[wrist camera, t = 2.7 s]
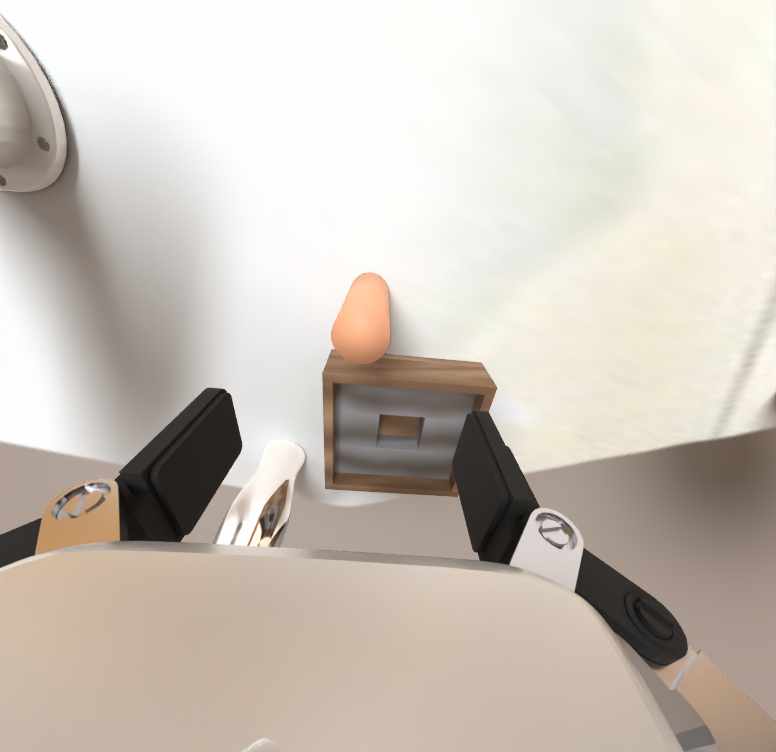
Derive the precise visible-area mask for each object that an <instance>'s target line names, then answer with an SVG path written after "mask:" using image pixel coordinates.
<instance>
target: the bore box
mask: <svg viewBox="0 0 776 752" xmlns="http://www.w3.org/2000/svg"><path fill="white" fill-rule="evenodd" d="M322 375H323V416H324V457H325V489H335V490H352V491H369V492H386V493H402V494H419V495H437V496H453V497H457V496H458V494H459V492H458V488H457V484H456V480H455V476H454V472H453V468H452V461H453V457H454V454H455V451H456V448H457V444H458V441H459V438H460V435H461V432H462V429H463V425H464V422H465V419H466V416H467V414H468V413H471V412H472V411H473V410H478V411H487V412H489V409H490V406H491V404H492V401H493V398H494V396H495V393H496V390H497V387H496V385H495V383H494V382H493V380H492V379H491V377H490V375H489V374H488V372H487V371H486V369H485V367H484V366H483V364H482V363H479V362H468V361H456V360H445V359H434V358H422V357H411V356H400V355H388V354H384V355H383V356H382V357H381V358H380V359H378V360H377V361H375V362H372V363H368V364H356V363H352V362H350V361H347V360H346V359H344V358H343V357H341V356H340V355H339V354H338V352H337V351H336V350H331V353H330V355H329V358H328V360H327V363H326V366H325V368H324V371H323V373H322Z"/></svg>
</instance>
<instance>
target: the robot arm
mask: <svg viewBox="0 0 776 752" xmlns="http://www.w3.org/2000/svg"><path fill="white" fill-rule="evenodd" d="M66 150H67V140H66V133H65V126H64V122H63V118H62V115H61V112H60V108H59V105H58V102H57V100H56V98H55V96H54V93H53V91H52V89H51V87H50V84H49V82H48V80H47V79H46V77H45V75H44V73H43V72H42V70H41V68H40V67H39V65H38V63H37V61H36V60H35V58H34V57H33V55H32V54H31V53H30V51H29V50H28V48H27V47H26V46H25V44H24V43H23V42H22V40H21V39H20V37H19V36H18V35H17V34H16V33H15V31H14V30H13V29H12V28H11V27H10V26H9V25H8V24H7V22H6V21H5V20H4V19H3V18H2V17H1V16H0V190H3V191H15V192H31V191H38V190H41V189H44V188H47V187H48V186H49V185H51V184H52V183H53V182H55V181H56V179H57V178H58V176H59V175H60V173H61V172H62V170H63V167H64V163H65V160H66ZM241 450H242V441H241V436H240V432H239V428H238V423H237V419H236V415H235V410H234V406H233V402H232V397H231V395H230V393H227V391H226V390H225V389H219V388H206V389H205V390H204V391H203V392H202V393H201V394H200V395H199V396H198V397H197V398H196V399H195V400H194V401H192V402H191V403H190V404H189V405H188V406H187V407H186V408H185V409H184V410H183V411H182V412H181V413H180V414H179V415H178V416H177V417H176V418H175V419H174V420H173V421H172V422H171V423H170V424H169V425H167V426H166V427H165V428H164V429H163V430H162V431H161V432H160V433H159V434H158V435H157V436H156V437H155V438H154V439H153V440H152V441H151V442H150V443H149V444H148V445H147V446H146V447H145V448H144V449H142V450H141V451H140V452H139V453H138V454H137V455H136V456H135V457H134V458H133V459H132V460H131V461H130V462H129V463H128V464H127V465H126V466H125V467H124V468H123V469H122V470H121V471H120V472H119V473H120V475H119V476H118V477H117V478H116V479H115V480H112V479H109V478H97V479H92V480H88V481H84V482H82V483H79V484H77V485H75V486H72V487H71V488H69V489H67V490H65V491H64V492H62V493H61V494H59V495H58V496H57V497H56V498H54V499H53V500H52V501H51V502H50V503H49V504H48V506H47V507H46V508H45V510H44V513H43V515H42V518H40V519H38V520H35V521H33V522H30V523H28V524H26V525H23V526H21V527H18V528H16V529H13V530H11V531H9V532H6V533H4V534H1V535H0V752H776V722H775V720H773V719H772V718H771V717H770V716H769V715H768V714H767V713H766V712H765V711H764V710H763V709H762V708H761V707H760V706H759V705H758V704H757V703H755V701H754V700H752V699H751V698H750V697H749V696H748V695H747V694H746V693H745V692H744V691H743V690H742V689H741V688H740V687H739V686H738V685H737V684H736V683H735V682H733V681H732V680H731V679H730V678H729V677H728V676H727V675H726V674H725V673H724V672H723V671H722V670H721V669H720V668H719V667H718V666H717V665H716V664H714V663H713V661H711V660H710V659H709V658H708V657H707V656H706V655H705V654H704V653H703V652H702V651H699V652H697V653H696V652H695V651H694V650H693V649H692V648H691V647H690V646H689V645H688V644H687V639H686V636H685V634H684V632H683V630H682V628H681V626H680V625H679V623H678V622H677V620H676V619H675V618H674V616H673V615H672V614H671V613H670V612H669V611H668V610H667V609H666V608H665V607H664V605H662V604H661V603H660V602H659V601H657V600H656V599H655V598H654V597H652V596H651V595H650V594H648V593H647V592H645V591H644V590H643V589H641V588H640V587H638V586H637V585H636V584H634V583H633V582H631V581H630V580H628V579H627V578H626V577H624V576H623V575H621V574H620V573H618V572H617V571H616V570H614V569H613V568H611V567H610V566H609V565H607V564H605V563H604V562H603V561H602V560H600V559H599V558H597V557H596V556H594V555H593V554H591V553H590V552H589V551H587V550H586V549H585V548H583V539H582V536H581V534H580V532H579V531H578V529H577V528H576V526H575V525H574V524H573V523H572V522H571V521H570V520H569V519H568V518H566V517H565V516H563V515H562V514H560V513H559V512H557V511H554V510H552V509H548V508H540V506H539V504H538V503H537V500H536V498H535V497H534V495H533V493H532V491H531V489H530V487H529V485H528V483H527V481H526V479H525V477H524V475H523V473H522V471H521V469H520V467H519V465H518V463H517V461H516V459H515V457H514V455H513V453H512V452H511V450H510V448H509V447H508V446H505V444H504V442H503V440H502V438H501V436H500V434H499V432H498V430H497V428H496V426H495V424H494V422H493V420H492V418H491V416H490V414H489V412H487V411H478V410H473V411H472V412H471V413H468V414H467V416H466V419H465V422H464V425H463V429H462V432H461V435H460V438H459V441H458V444H457V448H456V451H455V454H454V457H453V461H452V468H453V472H454V476H455V480H456V484H457V488H458V492H459V496H460V500H461V505H462V509H463V513H464V516H465V521H466V525H467V529H468V532H469V537H470V541H471V545H472V548H473V551H474V552H478V555H479V559H480V561H477V560H465V559H453V558H441V557H427V556H411V555H395V554H380V553H365V552H348V551H331V550H314V549H297V548H280V547H262V546H243V545H224V544H204V543H184V542H181V540H182V538H183V537H184V536H185V535H188V534H189V533H190V532H191V531H192V530H193V528H194V527H195V525H196V523H197V522H198V520H199V518H200V517H201V515H202V514H203V512H204V510H205V509H206V507H207V506H208V504H209V502H210V501H211V499H212V498H213V496H214V494H215V493H216V491H217V489H218V488H219V486H220V485H221V483H222V481H223V480H224V478H225V477H226V475H227V473H228V472H229V470H230V469H231V467H232V465H233V464H234V462H235V461H236V459H237V457H238V456H239V454H240V452H241Z"/></svg>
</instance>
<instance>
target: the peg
mask: <svg viewBox="0 0 776 752" xmlns="http://www.w3.org/2000/svg"><path fill="white" fill-rule="evenodd" d="M331 339H332V343H333V346H334V348H335V350H336V351H337V352H338V354H339V355H340V356H341V357H343V358H344V359H346V360H347V361H350V362H352V363H356V364H368V363H372V362H375V361H377V360H378V359H380V358H381V357H382V356H383V355H384V354H385V353H386V351H387V350H388V348H389V345H390V310H389V289H388V285H387V283H386V282H385V280H384V279H383V278H382V277H381V276H379V275H377V274H374V273H364V274H361V275H359V276H358V277H357V278H356V279H355V280H354V282H353V283H352V286H351V288H350V290H349V292H348V294H347V296H346V299H345V301H344V303H343V305H342V307H341V310H340V312H339V314H338V316H337V318H336V320H335V323H334V325H333V327H332V331H331Z"/></svg>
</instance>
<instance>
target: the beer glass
mask: <svg viewBox="0 0 776 752" xmlns="http://www.w3.org/2000/svg"><path fill="white" fill-rule="evenodd" d="M304 461H305V453H304V451H303V449H302V448H301V447H300V446H299V445H297V444H296V443H294V442H292V441H288V440H274V441H271V442H269V443H268V444H267V445H266V446H265V448H264V450H263V454H262V458H261V461H260V464H259V466H258V468H257V470H256V472H255V473H254V474H253V476H252V477H251V479H250V480H249V481H248V482H247V484H246V485H245V486H244V488H243V489H242V490H241V492H240V493H239V494H238V496H237V497H236V499H235V500H234V502H233V503H232V505H231V506H230V508H229V510H228V512H227V513H226V515H225V517H224V519H223V521H222V523H221V525H220V527H219V529H218V532H217V534H216V536H215V539H214V541H213V543H212V544H224V545H243V546H262V547H280V546H281V543H282V541H283V538H284V535H285V532H286V528H287V525H288V521H289V516H290V512H291V504H292V498H293V489H294V483H295V479H296V476H297V474H298V472H299V470H300V469H301V467H302V465H303V463H304Z"/></svg>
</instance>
